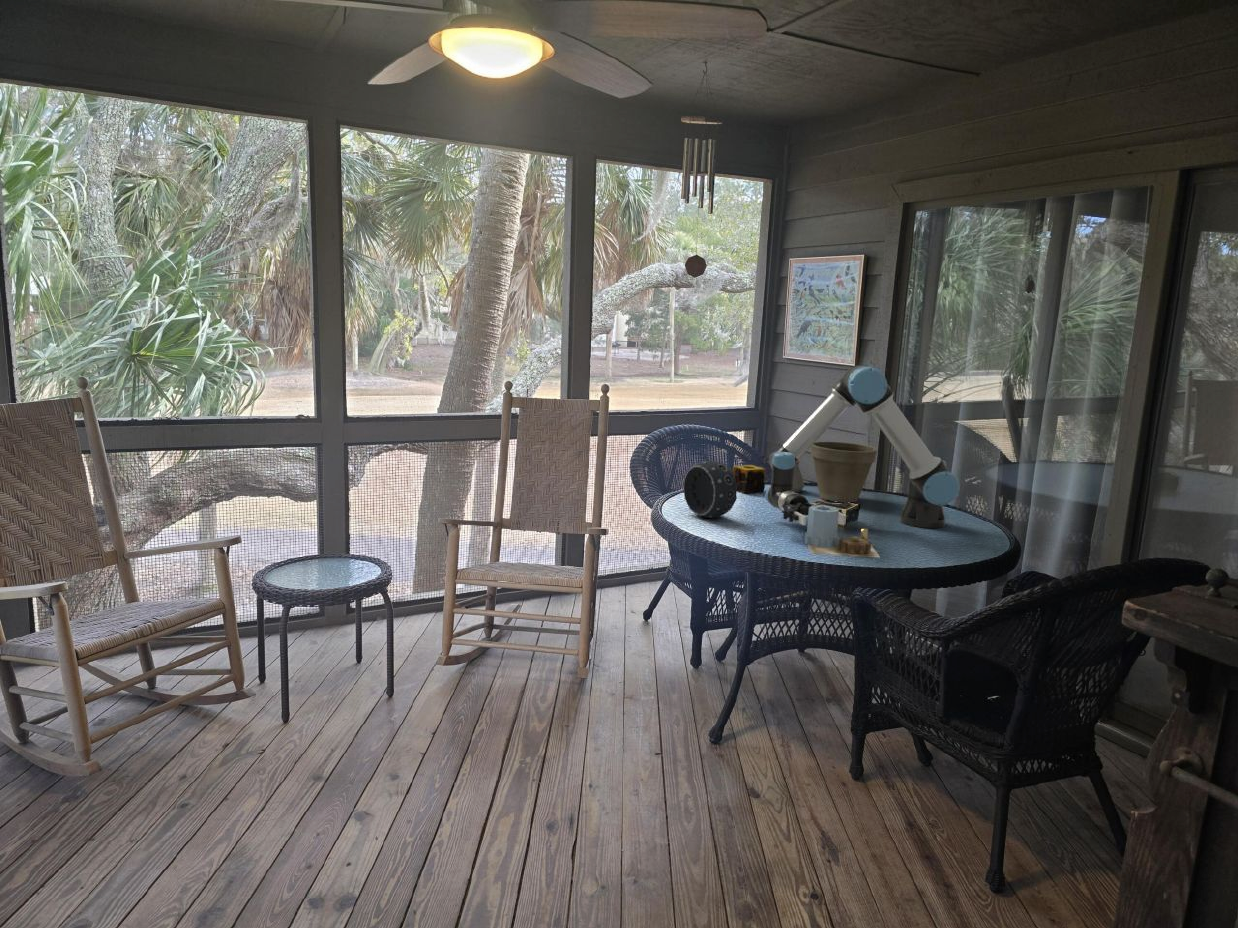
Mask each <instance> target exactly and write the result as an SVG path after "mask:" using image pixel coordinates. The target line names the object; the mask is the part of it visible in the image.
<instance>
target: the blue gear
mask: <svg viewBox="0 0 1238 928" xmlns="http://www.w3.org/2000/svg"><path fill="white" fill-rule="evenodd" d="M815 505H816V506H811V507H809V513H808V515H807V516H808V517H807V528H806V531H805V532H804V538H803V540H804V543H805V544H806V545H807V544H811V545H814V546H815V547H819V546H820V547H827V548H831V547H833V546H838V543H839V540H840V538H839V534H838V526H839V522H838V516H839V509H840V508H838V507H834V506H829V505H823V504H821V505H817V504H815ZM837 508H838V509H837Z"/></svg>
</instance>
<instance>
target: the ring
mask: <svg viewBox="0 0 1238 928" xmlns="http://www.w3.org/2000/svg"><path fill="white" fill-rule="evenodd" d="M683 481H684V482H683V485H682V487H683V495H684V498H683V499H684V500H685V502H686V505H687V507H688V509H689V510H690V511H692V512H693V513H694V514H695V515H696V516H699V517H700V518H703V519H704V518H708V519H714V518H719V517H721V516H724V515H726V514H727V513H728V512H729V511H731V510H732V508H733V507H734V505H735V503H736V502H737V497H738V496H737V493H738V492H737V484H736V482H735V478H734V474H733V470H731V469H730V468H729V466H727V465H726V464H724V463H722V462H720V461H716V460H704V461H699V462H696V463H694V465H692V466H691V468H689V470H688V471H687V473H685V477H684V480H683Z"/></svg>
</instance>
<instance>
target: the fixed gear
mask: <svg viewBox="0 0 1238 928" xmlns="http://www.w3.org/2000/svg"><path fill="white" fill-rule="evenodd" d="M871 545H872V541H869V540H868V539H867V540H866V539H860V537H859V536H857V535H855V536H845V537H840V538H839V546H838V549H839V550H842V551H841V552H843V553H850V554H852V555H854V554H859V555H864V554H870V551H871Z"/></svg>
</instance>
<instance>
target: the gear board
mask: <svg viewBox="0 0 1238 928" xmlns="http://www.w3.org/2000/svg"><path fill="white" fill-rule="evenodd" d="M806 545H807V546H808V549H809V551H810V554H816V555H818V554H819V555H830V556H831V555H832V556H835V555H836V556H847V557H848V556H849V557H861V558H862V557H863V558H864V557H866V558H879V559H881V557H880V555H879V554H878V552H877V551H876V549H875V548H874V546H873V545H872V544H871V551H870V554H864V555H859V554H854V555H852V554H850V553H843V552H841V551H842V550H839V549H838V546H839V543H838V546H833V547H831V548H827V547H820V546H819V547H815V546H814V545H811V544H806Z"/></svg>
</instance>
